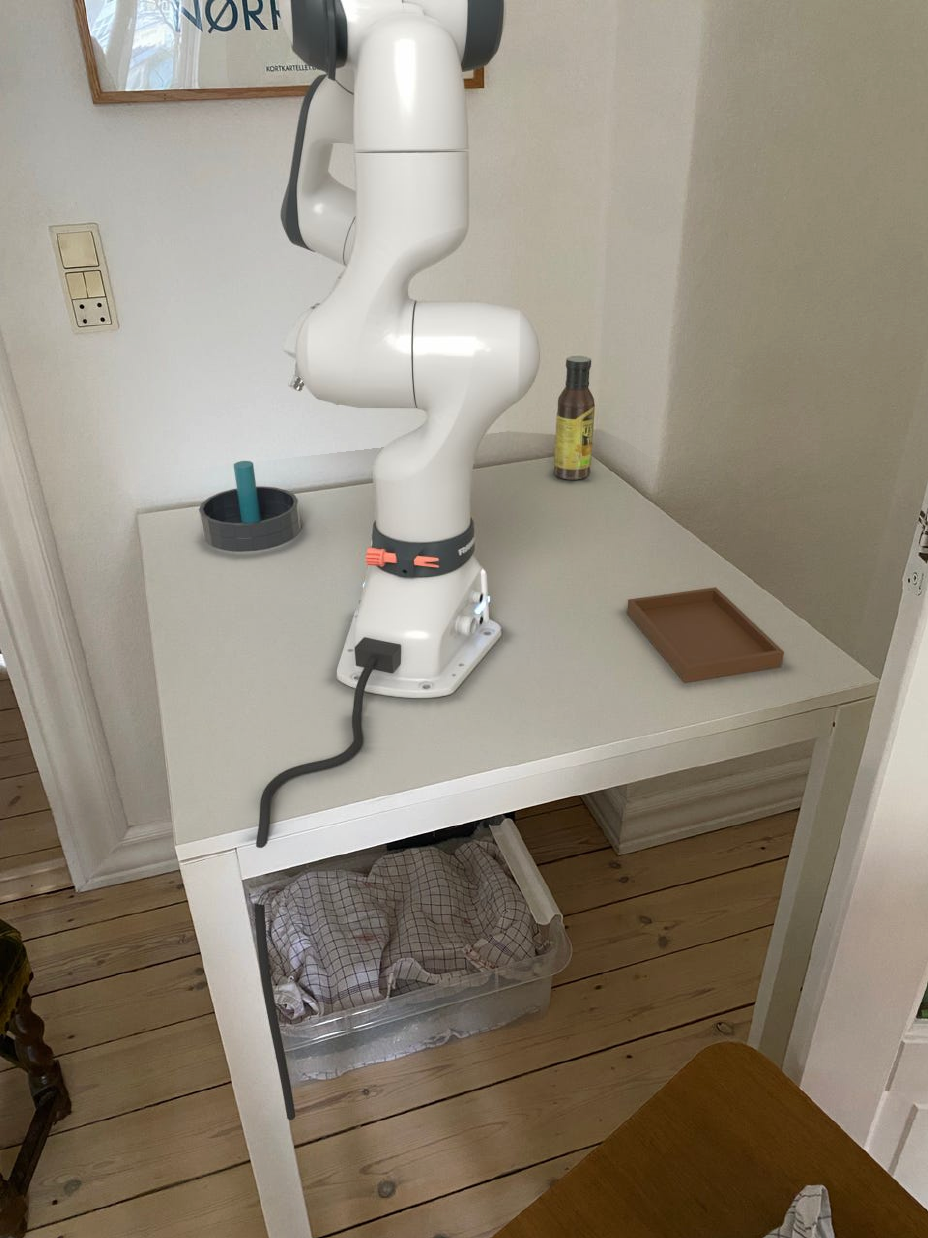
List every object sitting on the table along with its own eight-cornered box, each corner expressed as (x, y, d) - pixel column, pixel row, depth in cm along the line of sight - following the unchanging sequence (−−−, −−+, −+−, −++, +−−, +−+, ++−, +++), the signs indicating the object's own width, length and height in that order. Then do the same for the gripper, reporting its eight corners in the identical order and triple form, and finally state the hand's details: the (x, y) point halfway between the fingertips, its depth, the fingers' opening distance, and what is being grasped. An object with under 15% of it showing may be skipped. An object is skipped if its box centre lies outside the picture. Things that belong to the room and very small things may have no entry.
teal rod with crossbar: (278, 541, 135) (270, 473, 129) (220, 544, 134) (209, 475, 129) (282, 517, 142) (275, 452, 137) (227, 520, 141) (217, 455, 136)
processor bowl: (277, 560, 131) (273, 528, 128) (186, 550, 134) (181, 519, 131) (315, 520, 143) (312, 490, 140) (231, 512, 146) (227, 482, 143)
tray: (781, 667, 106) (784, 651, 105) (684, 683, 103) (686, 667, 102) (713, 601, 119) (716, 587, 118) (626, 613, 117) (627, 599, 116)
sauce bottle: (586, 483, 155) (593, 364, 145) (550, 479, 156) (554, 362, 146) (593, 470, 160) (601, 354, 150) (558, 466, 162) (563, 352, 152)
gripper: (298, 290, 141) (257, 371, 141) (385, 311, 128) (341, 400, 128) (325, 312, 146) (286, 390, 146) (412, 335, 133) (369, 420, 133)
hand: (312, 395), depth 137 cm, fingers open, 8 cm apart
